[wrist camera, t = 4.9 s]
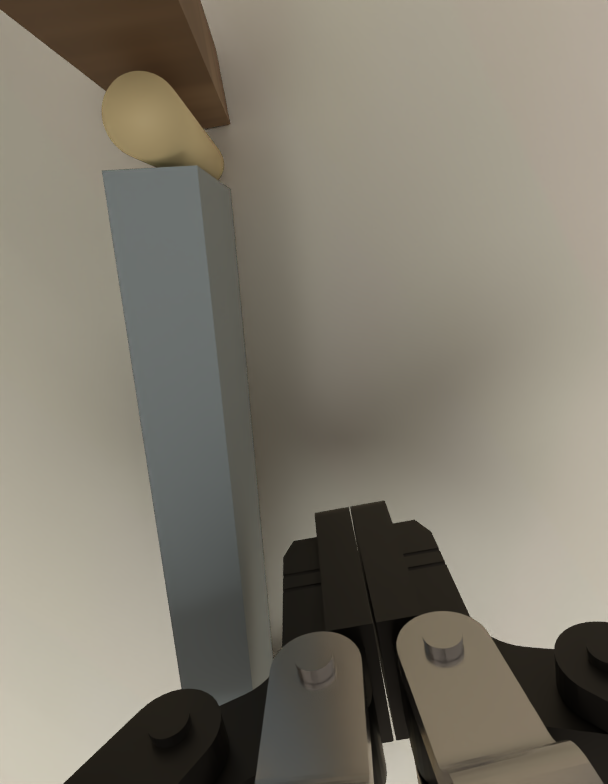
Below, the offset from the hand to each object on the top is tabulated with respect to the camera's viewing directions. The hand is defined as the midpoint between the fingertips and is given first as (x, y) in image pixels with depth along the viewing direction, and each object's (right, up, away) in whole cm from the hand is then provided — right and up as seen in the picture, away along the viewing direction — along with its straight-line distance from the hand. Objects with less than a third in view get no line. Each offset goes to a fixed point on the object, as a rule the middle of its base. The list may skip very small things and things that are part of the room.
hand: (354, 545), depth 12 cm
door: (-2, +1, +4) cm, 5 cm away
